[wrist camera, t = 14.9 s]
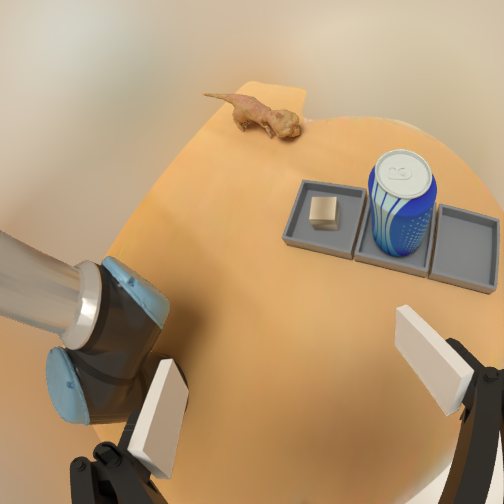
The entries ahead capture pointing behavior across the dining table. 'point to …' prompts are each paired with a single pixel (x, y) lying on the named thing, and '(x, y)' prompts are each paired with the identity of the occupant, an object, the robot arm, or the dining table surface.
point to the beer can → (401, 201)
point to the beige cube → (325, 213)
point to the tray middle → (375, 256)
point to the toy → (261, 115)
